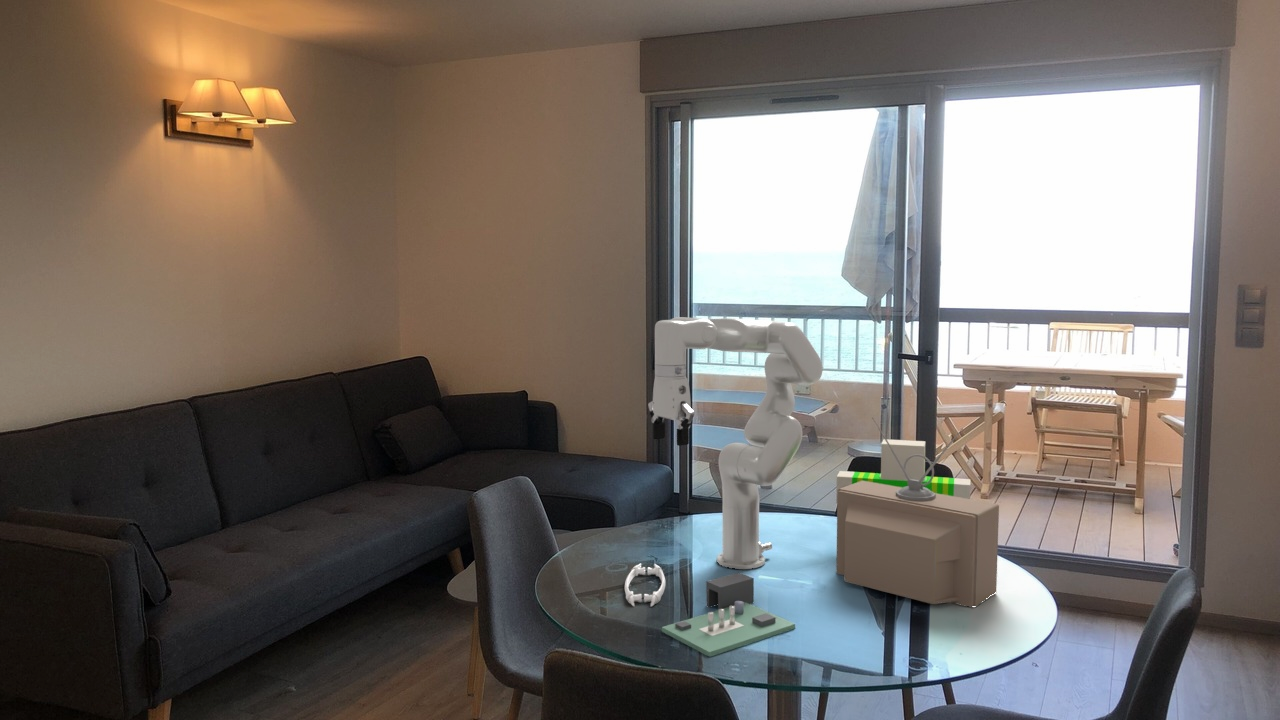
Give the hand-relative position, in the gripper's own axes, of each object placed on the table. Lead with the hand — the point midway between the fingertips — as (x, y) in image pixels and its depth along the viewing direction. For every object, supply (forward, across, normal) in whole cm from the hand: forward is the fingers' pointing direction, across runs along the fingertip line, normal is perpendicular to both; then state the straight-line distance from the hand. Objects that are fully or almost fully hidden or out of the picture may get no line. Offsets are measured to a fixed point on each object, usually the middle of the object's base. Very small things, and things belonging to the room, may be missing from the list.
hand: (670, 441), depth 226 cm
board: (+36, -31, +7) cm, 47 cm away
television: (+35, -35, -45) cm, 67 cm away
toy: (+35, -17, -65) cm, 76 cm away
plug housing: (+36, -19, -3) cm, 41 cm away
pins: (+36, -31, +9) cm, 48 cm away
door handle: (+36, +1, +7) cm, 37 cm away
